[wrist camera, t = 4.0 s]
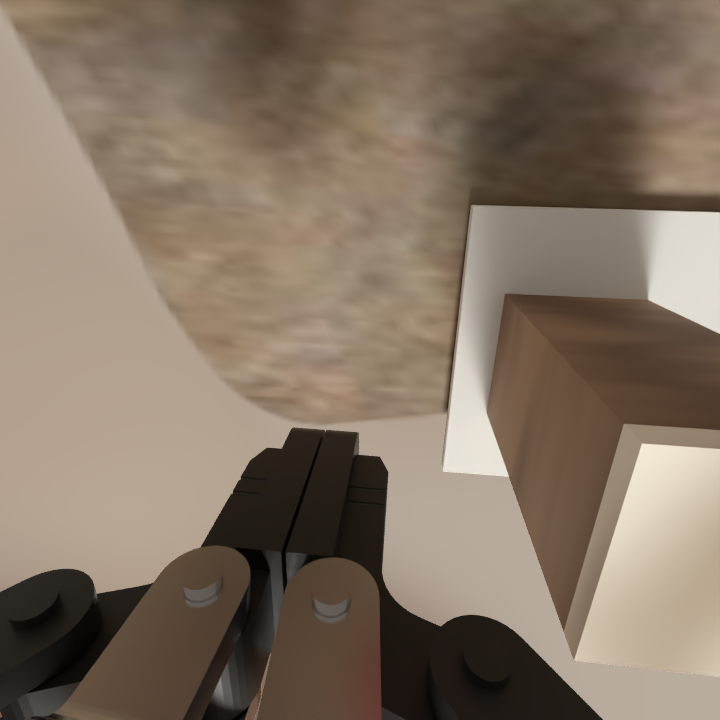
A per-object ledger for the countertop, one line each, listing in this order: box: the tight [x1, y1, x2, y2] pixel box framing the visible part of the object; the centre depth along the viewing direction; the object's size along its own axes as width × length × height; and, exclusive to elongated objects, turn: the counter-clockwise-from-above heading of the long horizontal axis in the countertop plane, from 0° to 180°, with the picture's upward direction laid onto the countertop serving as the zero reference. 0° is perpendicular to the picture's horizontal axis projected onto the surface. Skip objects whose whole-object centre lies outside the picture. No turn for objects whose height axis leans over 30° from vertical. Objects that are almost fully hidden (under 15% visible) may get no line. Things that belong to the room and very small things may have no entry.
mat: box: [442, 205, 720, 477], centre depth 16 cm, size 18×11×1 cm, turn 88°
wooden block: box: [487, 294, 720, 677], centre depth 12 cm, size 5×5×10 cm
